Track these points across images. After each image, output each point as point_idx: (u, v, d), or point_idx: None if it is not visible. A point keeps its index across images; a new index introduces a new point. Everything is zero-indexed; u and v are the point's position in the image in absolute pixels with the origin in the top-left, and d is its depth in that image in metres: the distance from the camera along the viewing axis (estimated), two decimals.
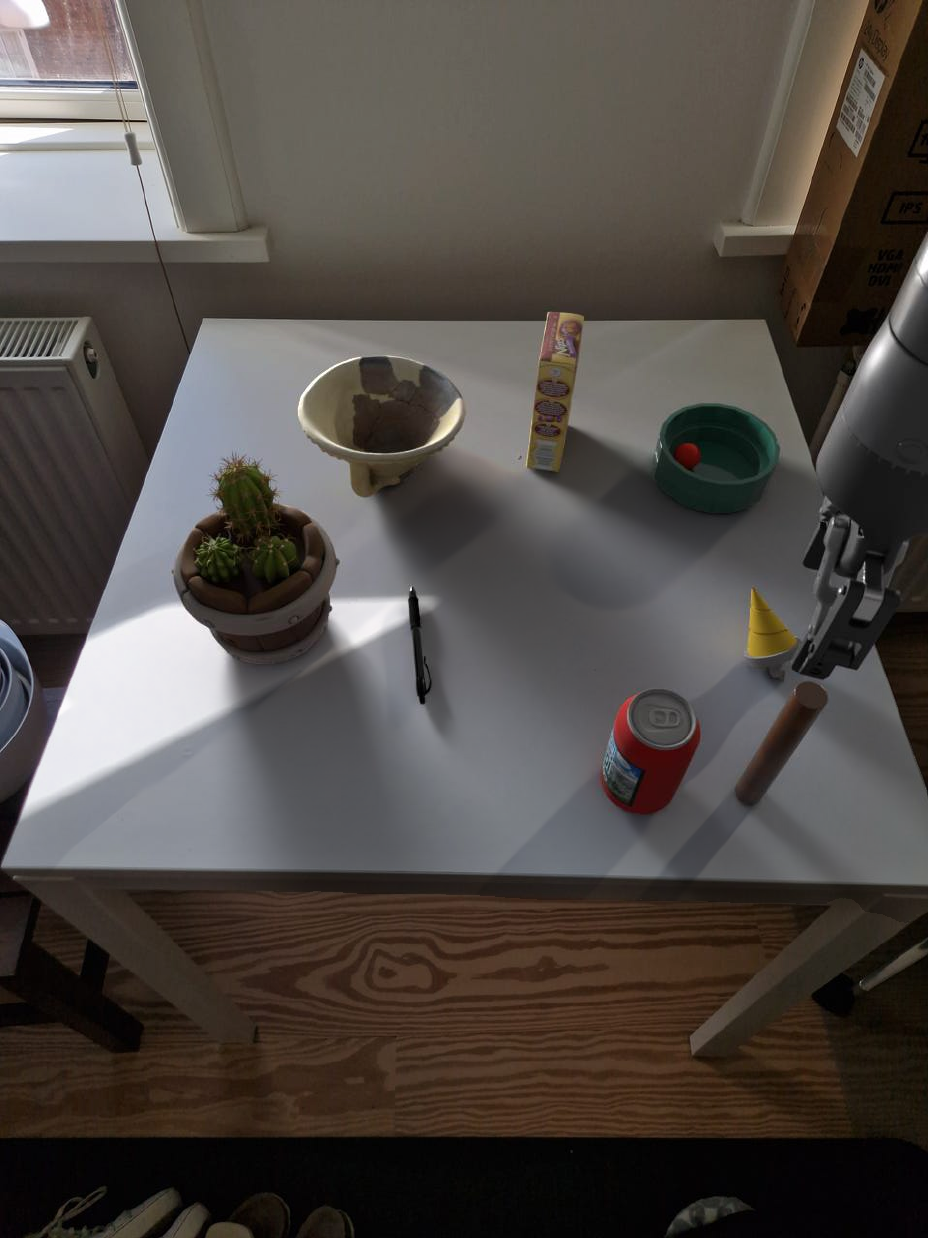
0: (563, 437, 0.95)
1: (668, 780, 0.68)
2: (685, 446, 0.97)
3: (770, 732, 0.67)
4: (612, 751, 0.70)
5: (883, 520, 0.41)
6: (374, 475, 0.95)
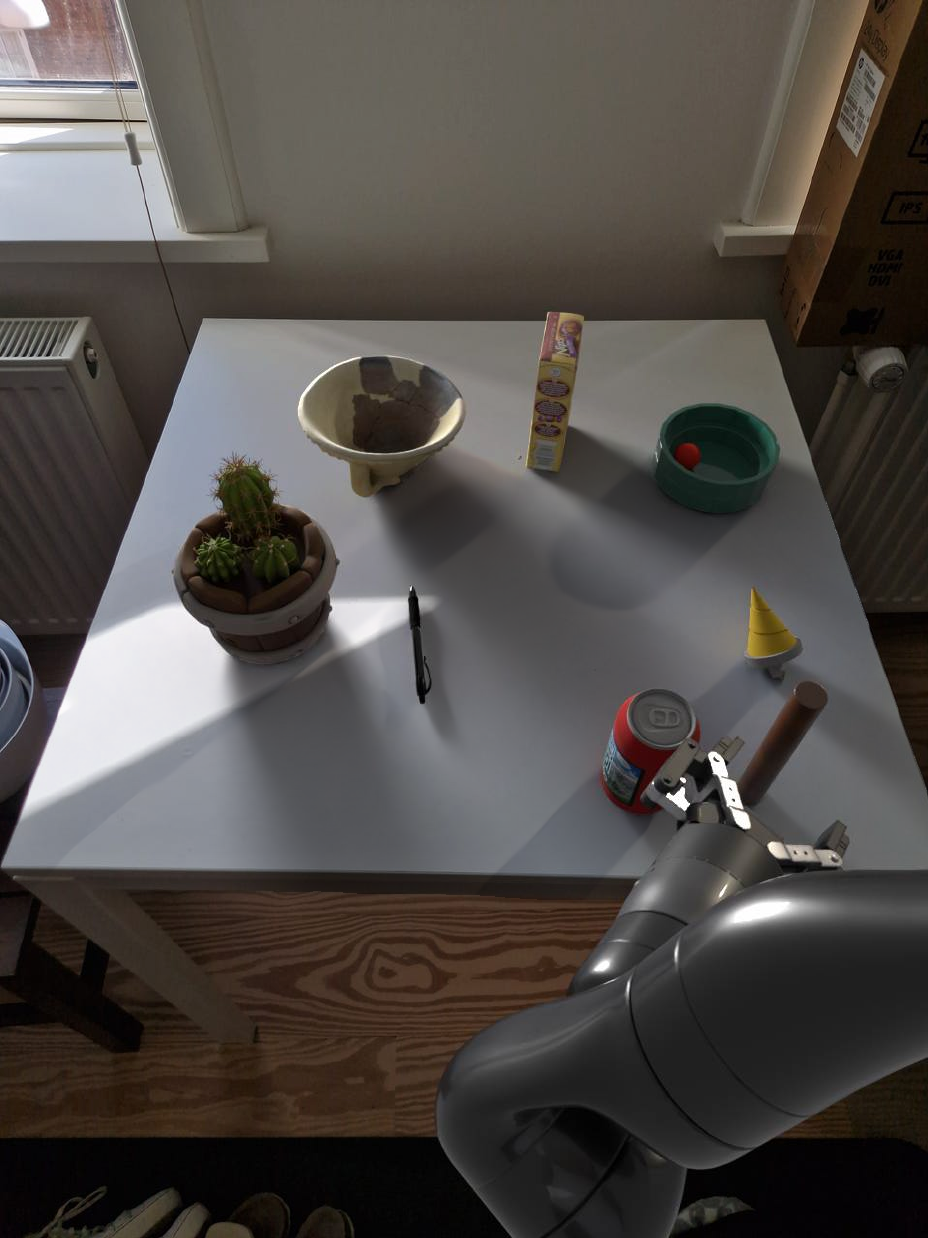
0: (563, 437, 0.95)
1: None
2: (685, 446, 0.97)
3: (770, 732, 0.67)
4: (612, 751, 0.70)
5: None
6: (374, 475, 0.95)
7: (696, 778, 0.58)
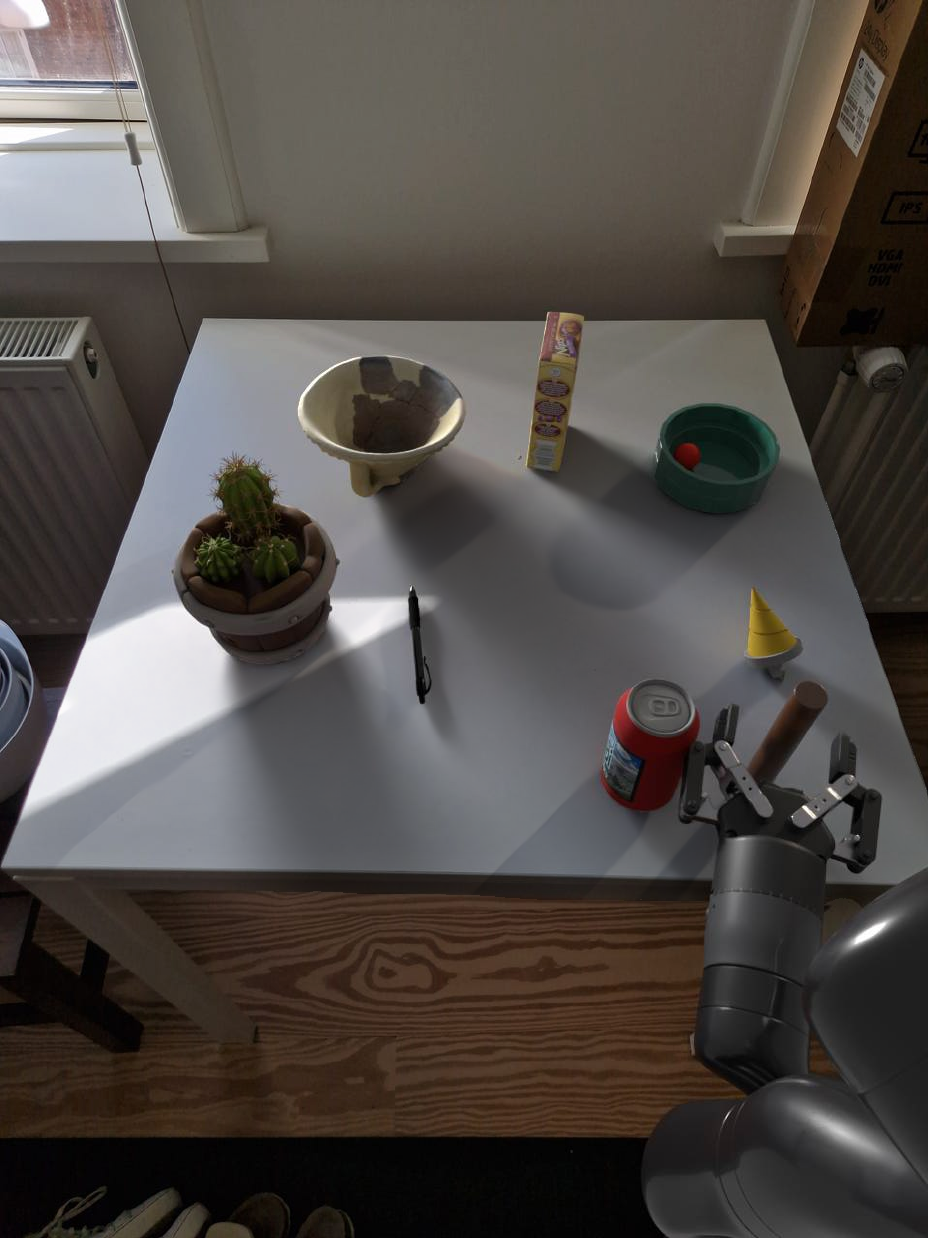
0: (563, 437, 0.95)
1: (669, 770, 0.68)
2: (685, 446, 0.97)
3: (770, 732, 0.67)
4: (612, 743, 0.70)
5: None
6: (374, 475, 0.95)
7: (713, 764, 0.67)
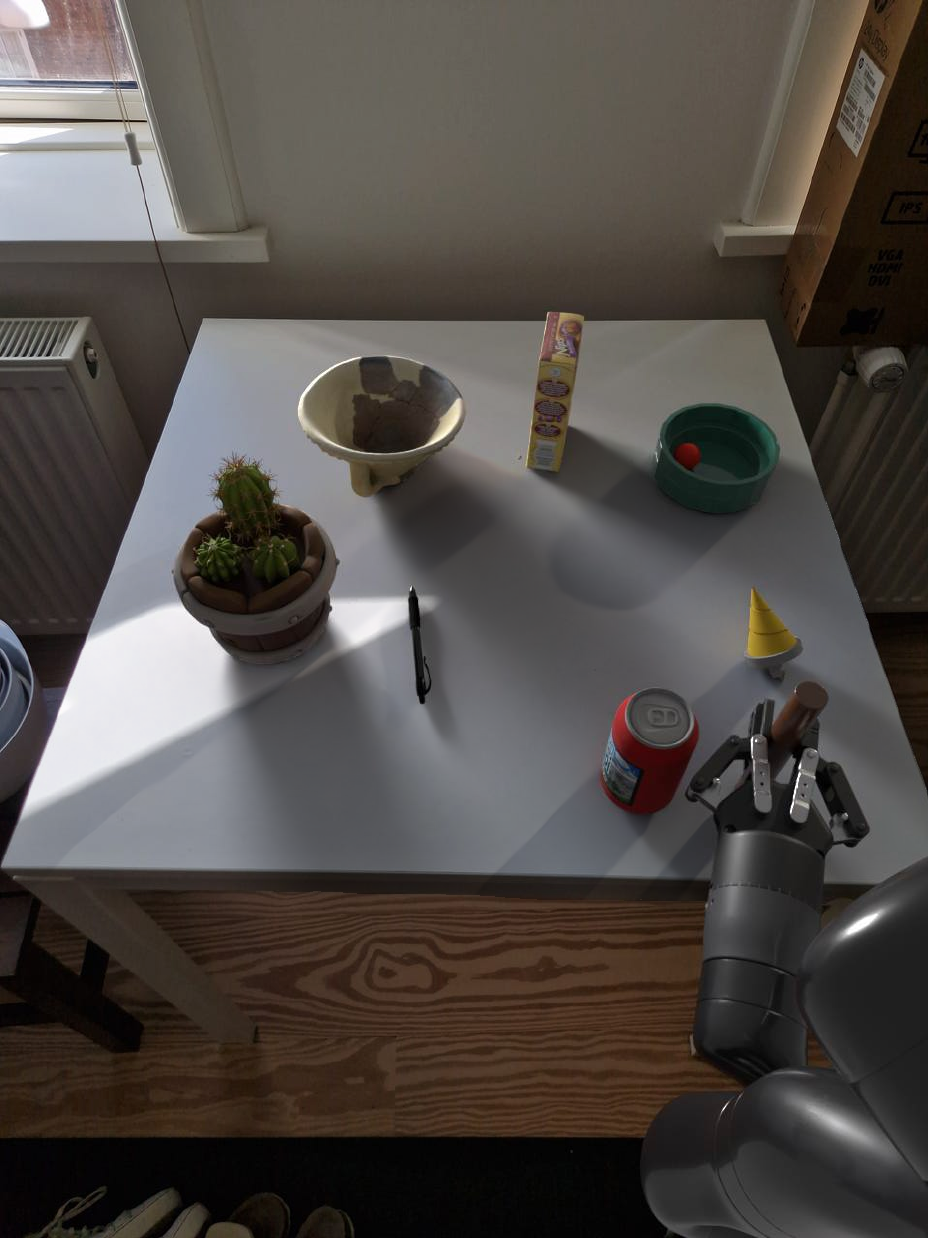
0: (563, 437, 0.95)
1: (667, 779, 0.68)
2: (685, 446, 0.97)
3: None
4: (611, 751, 0.70)
5: None
6: (374, 475, 0.95)
7: (750, 758, 0.67)
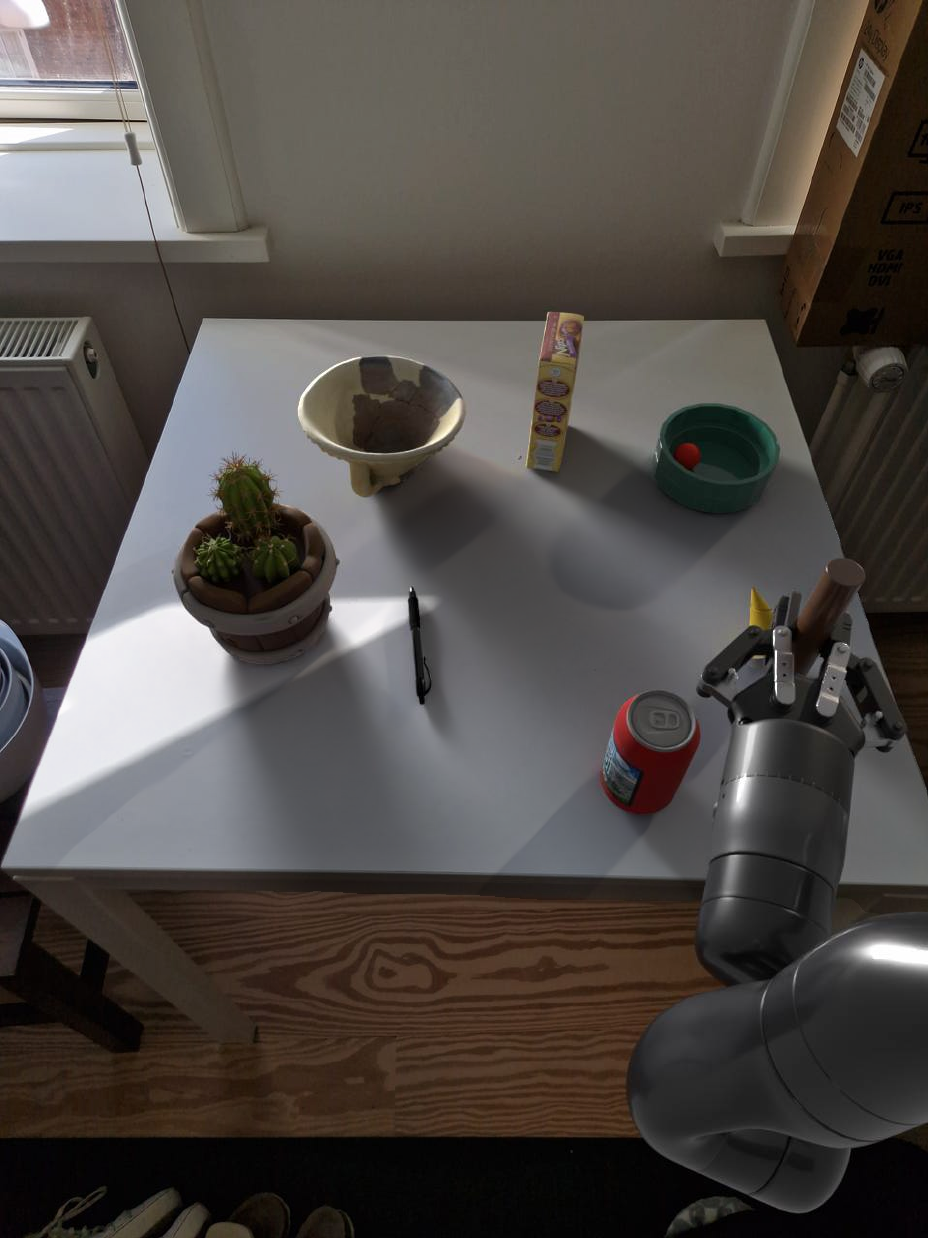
0: (563, 437, 0.95)
1: (667, 781, 0.68)
2: (685, 446, 0.97)
3: None
4: (612, 751, 0.70)
5: None
6: (374, 475, 0.95)
7: (771, 655, 0.60)
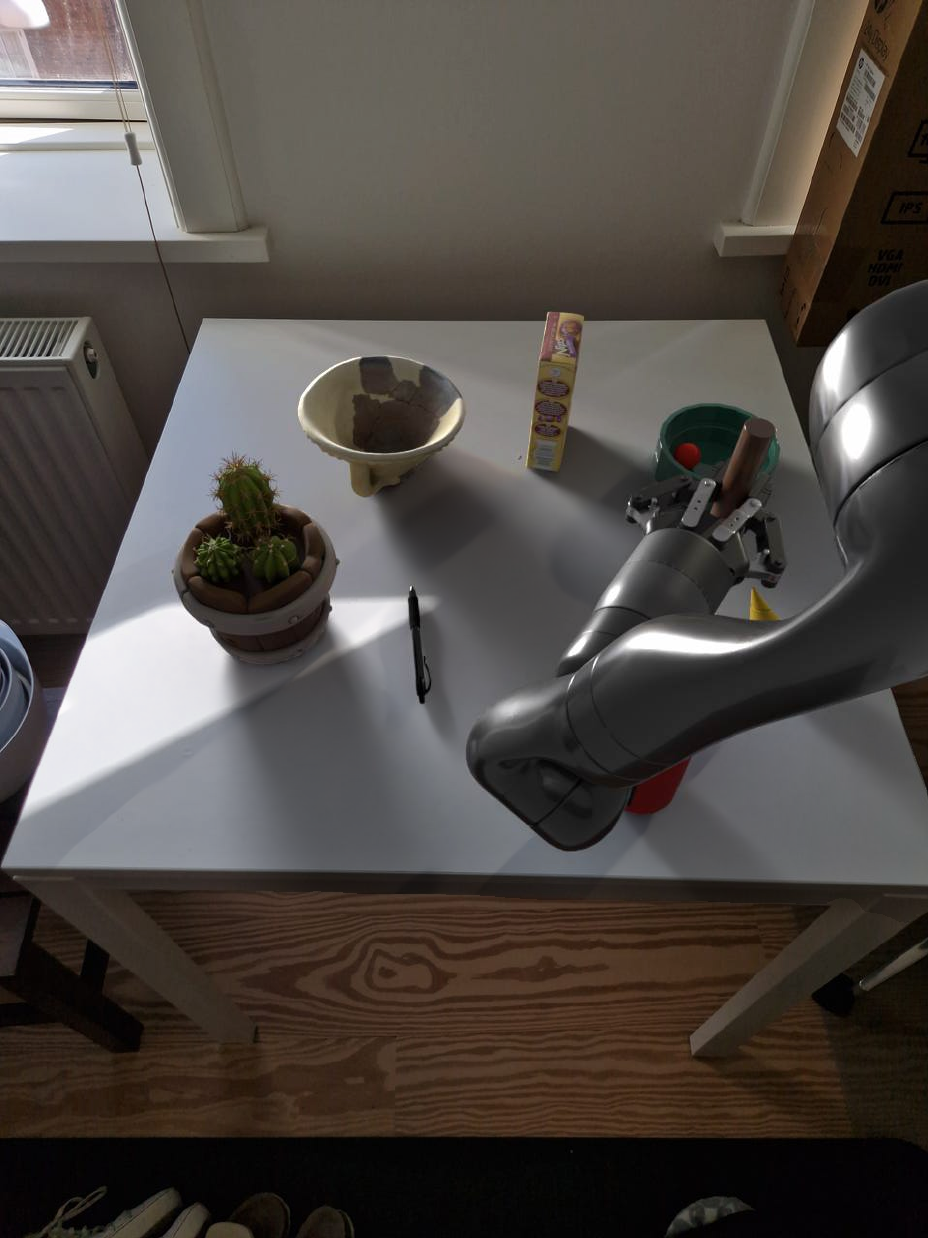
0: (563, 437, 0.95)
1: (666, 780, 0.68)
2: (685, 446, 0.97)
3: (722, 481, 0.70)
4: None
5: (722, 600, 0.64)
6: (374, 475, 0.95)
7: None
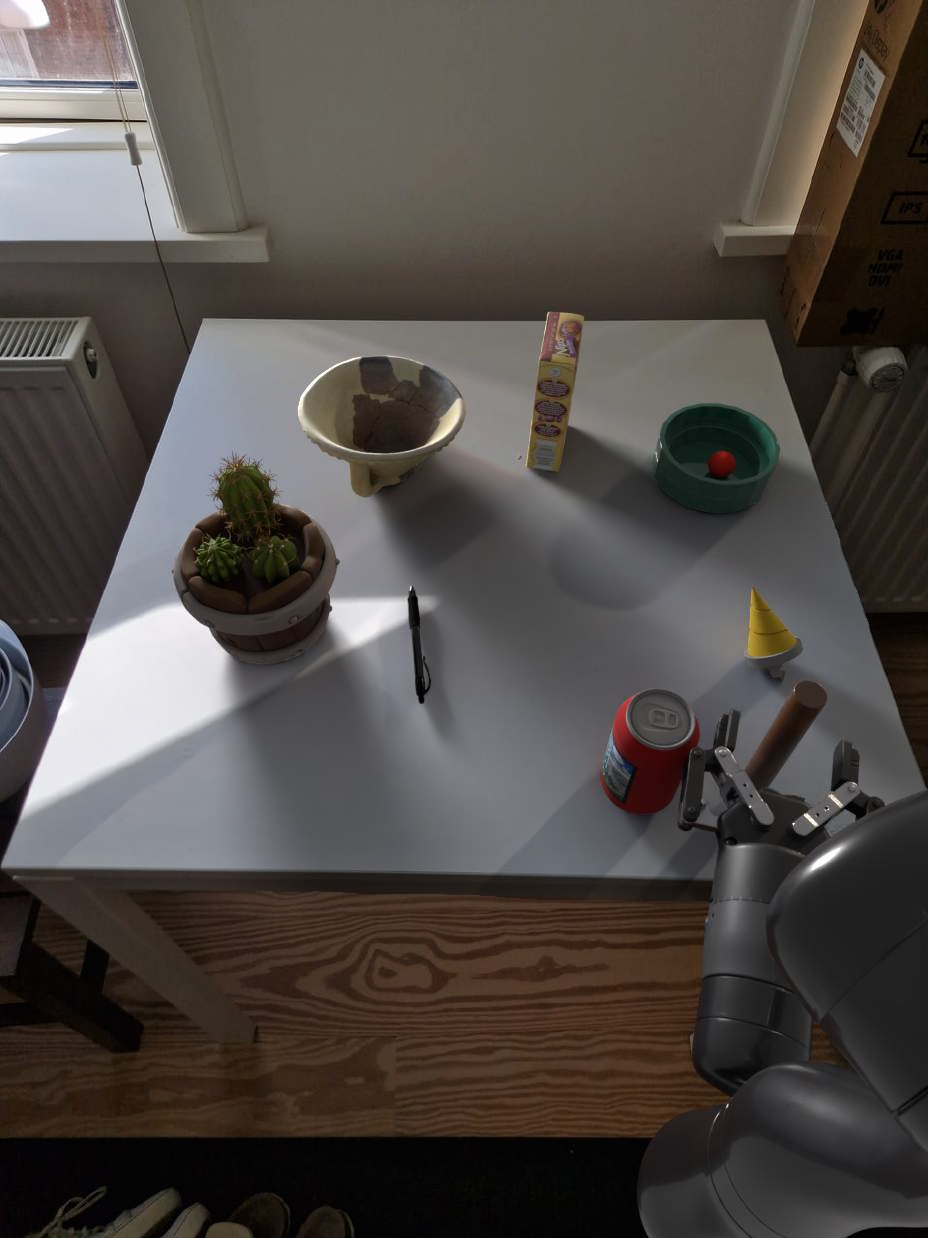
0: (563, 437, 0.95)
1: (660, 781, 0.68)
2: None
3: (769, 731, 0.67)
4: (610, 745, 0.70)
5: None
6: (374, 475, 0.95)
7: (714, 771, 0.66)
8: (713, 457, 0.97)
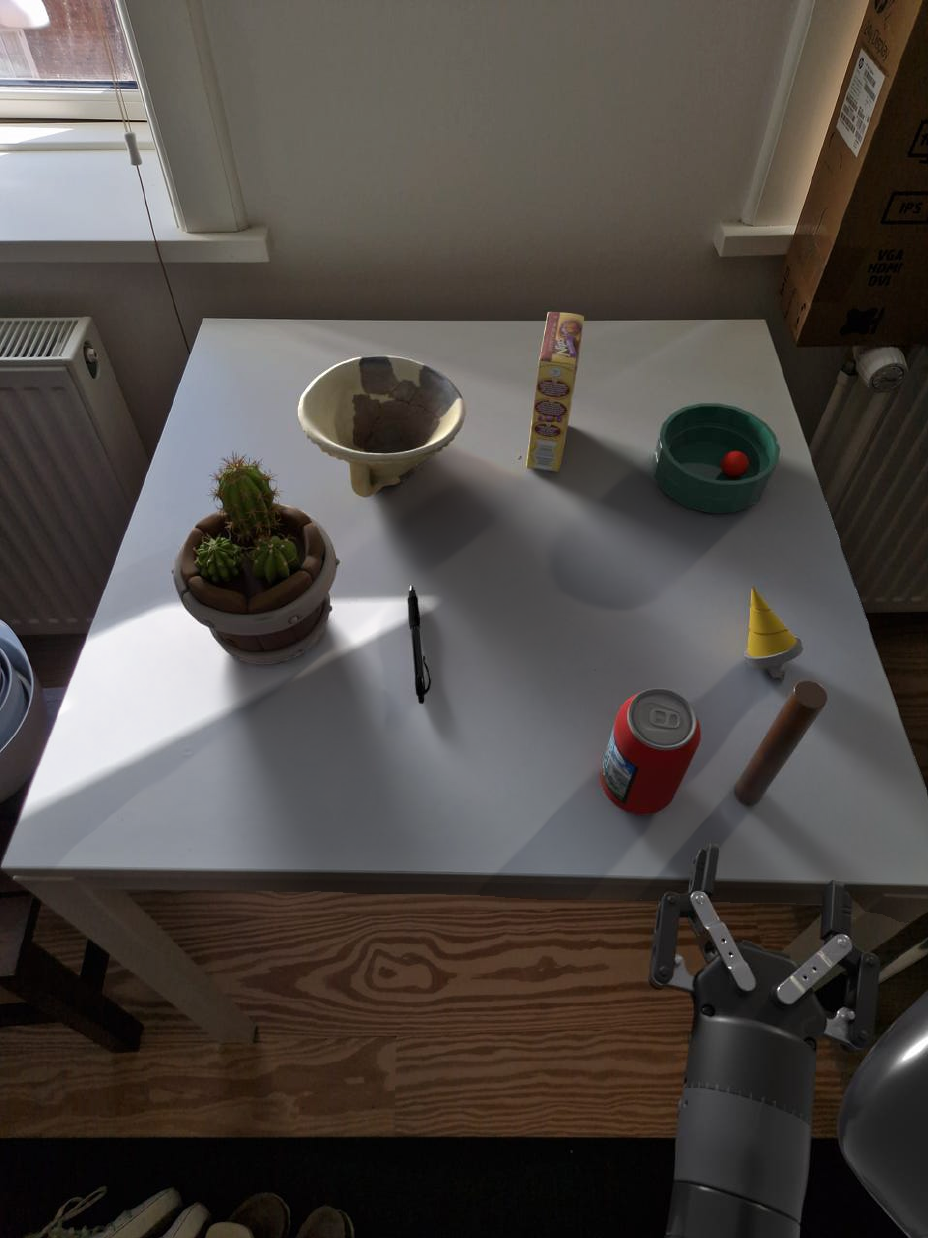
0: (563, 437, 0.95)
1: (661, 781, 0.68)
2: None
3: (769, 731, 0.67)
4: (611, 745, 0.70)
5: None
6: (374, 475, 0.95)
7: (690, 916, 0.59)
8: (739, 453, 0.96)
